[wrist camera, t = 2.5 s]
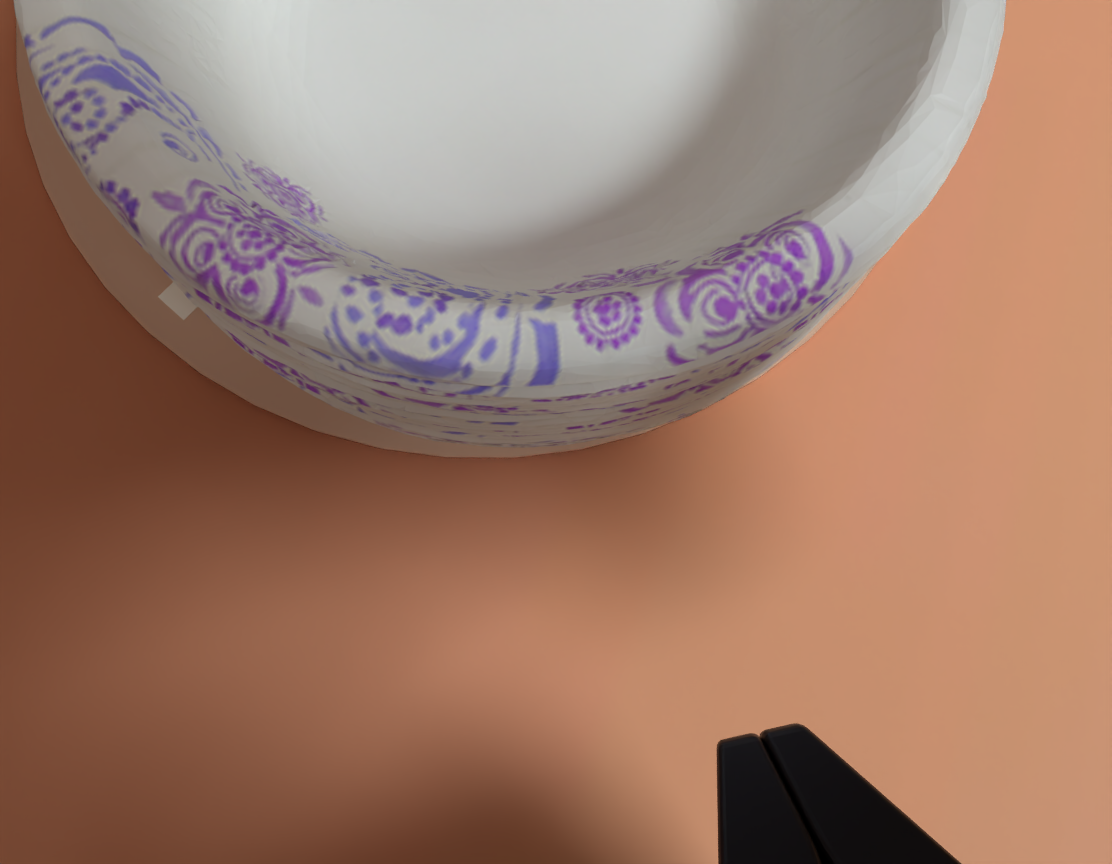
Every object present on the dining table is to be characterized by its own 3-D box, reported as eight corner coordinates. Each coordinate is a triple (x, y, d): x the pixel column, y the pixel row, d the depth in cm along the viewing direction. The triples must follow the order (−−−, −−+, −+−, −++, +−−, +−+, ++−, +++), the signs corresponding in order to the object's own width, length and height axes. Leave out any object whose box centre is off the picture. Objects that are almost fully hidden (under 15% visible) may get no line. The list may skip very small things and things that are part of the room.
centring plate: (1120, -17, 23) (1125, -23, 23) (525, 676, 19) (525, 676, 19) (460, -492, 26) (460, -502, 26) (-179, 33, 22) (-186, 28, 22)
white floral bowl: (815, -135, 24) (955, -514, 16) (888, 467, 20) (1108, 361, 13) (197, -124, 23) (26, -510, 15) (171, 495, 20) (-62, 403, 12)
